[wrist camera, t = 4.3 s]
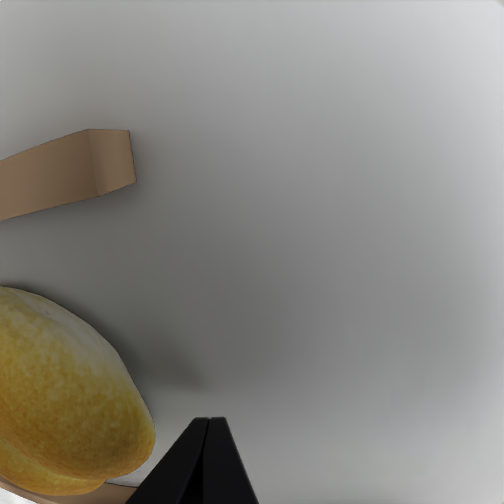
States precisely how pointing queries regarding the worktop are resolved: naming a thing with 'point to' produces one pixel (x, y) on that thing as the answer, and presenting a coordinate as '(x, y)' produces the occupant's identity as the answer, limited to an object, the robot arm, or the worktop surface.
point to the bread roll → (64, 401)
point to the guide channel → (59, 193)
